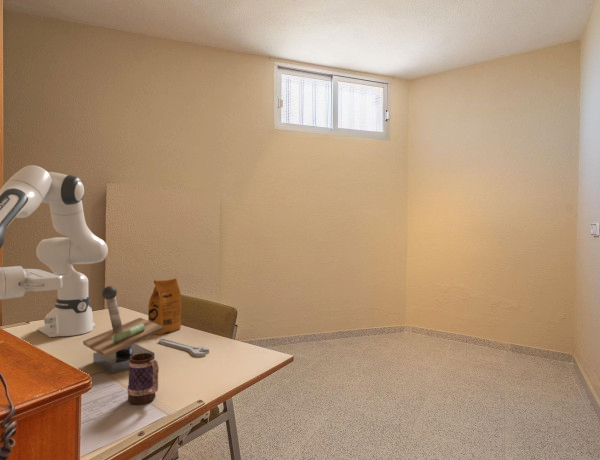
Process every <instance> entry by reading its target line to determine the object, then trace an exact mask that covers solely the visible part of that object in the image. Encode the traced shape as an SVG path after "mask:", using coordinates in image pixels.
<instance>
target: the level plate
mask: <svg viewBox="0 0 600 460" xmlns="http://www.w3.org/2000/svg"><path fill="white" fill-rule="evenodd" d="M117 294H118V290H117V289H116V288H115V287H114V286H112V285H110V286H109V285H108V286H106V287H105V288H103V289H102V294H101V295H102V297H103V298H104V299H105V302H106V306H107V309H108V313H109V315H108V316H109V318H110V323H111V327H112V329H109V330H107V331H104V332H102V333H100V334H98V335H94V336H93V337H90V338H87V339H85V340H83V341H82V343H83V346H85V347H87V348H89V349H90V350H92V351H94V353H99V354H101V355H102V356H104V357H106V356H108V355H111V354H113V353H115V352H117V351H119V350H121V349H124V348H126V347H128V346H130V345H132V344H134V343H135V344H137V343H139V342H140V341H143V340H145V339H147V338H149V337H152V336H153V335H157V334H156V333H158V332H160V331H162V330H164V327H163V326H161V325H158V324H156V323H153V322H150V321H148V319H145V318H142V317H138V318H135V319H133V320H131V321H128V322H125V323H124V324H123V323H122V319H121V315H120V310H119V306H118V302H117Z"/></svg>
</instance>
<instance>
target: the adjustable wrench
mask: <svg viewBox="0 0 600 460" xmlns="http://www.w3.org/2000/svg"><path fill="white" fill-rule="evenodd" d="M158 343H159V344H161V345H165V346H169V347H172V348H175V349H178V350H182V351H185V352H188V353H190V354H191V355H192V356H193V357H198V358H202V357H206V356H207V355H206V354H210V348H209V347H205V346H193V345H188V344H185V343H180V342H177V341H174V340H171V339H168V338H167V339H166V338H160V339H158Z"/></svg>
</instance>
